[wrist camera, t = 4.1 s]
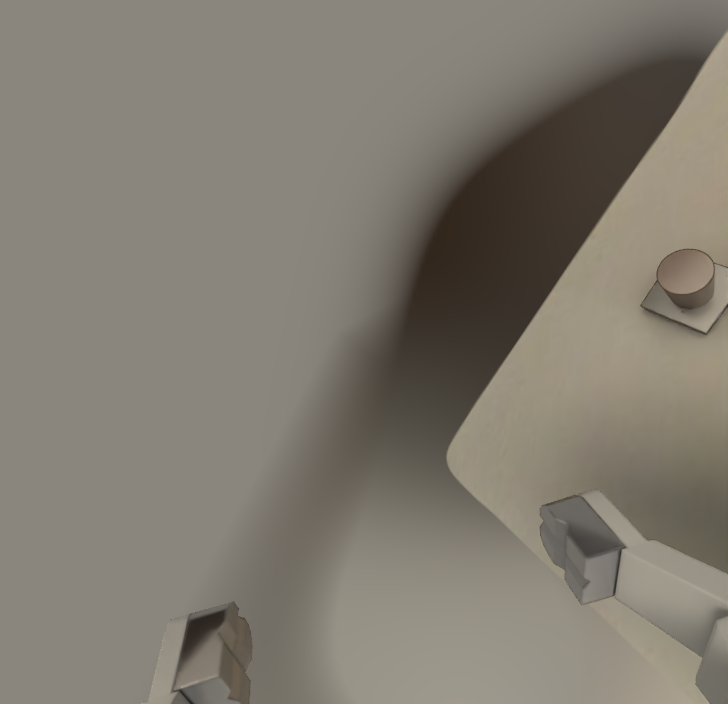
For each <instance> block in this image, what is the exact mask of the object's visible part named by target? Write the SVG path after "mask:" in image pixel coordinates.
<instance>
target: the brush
mask: <svg viewBox="0 0 728 704" xmlns="http://www.w3.org/2000/svg"><path fill="white" fill-rule="evenodd" d="M640 306H641V307H642V308H644V309H646V310H648V311H650V312H653V313H655V314H658V315H660V316H662V317H665V318H667V319H670V320H672V321H674V322H677V323H679V324H682V325H684V326H686V327H689V328H691V329H693V330H696V331H698V332H701V333H703V334H705V335H707V334H708V333H709V331H710V330H711V329H712V327H713V326H714V324H715V323H716V322H717V320H718V319H719V318H720V316H721V315H722V314H723V312H724V311H725V310H726V308H727V307H728V267H725V266H722V265H719V264H716V263H713V260H712V259H711V258H710V257H709V256H708V255H707V254H706V253H704V252H702V251H700V250H696V249H683V250H679V251H676V252H673V253H671V254H670V255H668V256H667V257H666V258H664V259H663V261H662V262H661V263H660V265H659V267H658V269H657V281H656V283H655V284H654V286H653V287H652V289H651V290H650V292H649V293H648V295H647V296H646V298H645V299H644V301H643V302H642V304H641V305H640Z"/></svg>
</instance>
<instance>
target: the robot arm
mask: <svg viewBox="0 0 728 704" xmlns="http://www.w3.org/2000/svg"><path fill="white" fill-rule="evenodd" d="M540 516H541V518H542V519H543V520H544V522H543V523H542V524H541V526H540V536H541V539H542V542H543V545H544V547H545V549H546V551H547V553H548V555H549V557H550V558H551V560H552V561H553V563H554V564H556V565H557V566H559V567H561V568H563V569H564V570H565V581H566V583H567V584H568V586H569V587H570V589H571V590H572V592H573V593H574V595H575V596H576V598H577V599H578V601H579V602H580V604H581V605H585V604H588V603H592V602H595V601H598V600H602V599H605V598H609V597H612V596H615V598H616V599H617V600H618V601H620V602H621V603H623V604H624V605H626V606H627V607H629V608H630V609H632V610H633V611H635V612H636V613H638V614H639V615H641V616H642V617H644V618H645V619H646V620H648V621H649V622H651V623H652V624H654V625H655V626H657V627H658V628H660V629H661V630H663V631H664V632H666V633H667V634H669V635H670V636H671V637H673V638H674V639H676V640H677V641H679V642H680V643H682V644H683V645H685V646H686V647H688V648H689V649H691V650H692V651H694V652H695V653H696V654H698V655H699V656H701V657H702V661H701V664H700V667H699V669H698V672H697V675H696V683H695V684H696V686H697V687H698V688H699V689H700V691H701V692H702V693H703V695H704V696H705V697H706V699H707V700H708V701H709V703H710V704H728V573H725V572H723V571H721V570H719V569H717V568H715V567H712V566H710V565H708V564H706V563H704V562H702V561H699V560H697V559H695V558H693V557H691V556H689V555H686V554H684V553H682V552H680V551H678V550H676V549H673V548H671V547H669V546H667V545H665V544H663V543H660V542H658V541H656V540H654V539H653V540H649V541H648V540H647V539H646V538H645V537H644V536H643V535H642V534H641V533H640V532H639V531H638V530H637V529H636V528H635V527H634V526H633V525H632V524H631V523H630V521H629V520H628V519H627V518H626V517H625V516H624V515H623V514H622V513H621V512H620V511H619V510H618V509H617V508H616V507H615V506H614V505H613V503H612V502H611V501H610V500H609V499H608V498H607V497H606V496H605V495H604V494H603V493H602V492H601V491H599V490H597V489H593V490H590V491H587V492H584V493H581V494H578V495H573V496H570V497H567V498H563V499H560V500H557V501H554V502H551V503H548V504H545V505H542V506H541V508H540ZM238 610H239V608H238V607H237V605H236V604H235V602H234V601H233V602H229V603H225V604H222V605H219V606H215V607H212V608H209V609H205V610H202V611H199V612H195V613H191V614H188V615H184V616H181V617H178V618H174V619H171V620H170V622H169V624H168V626H167V627H166V630H165V634H164V638H163V642H162V646H161V650H160V655H159V659H158V663H157V667H156V671H155V675H154V679H153V683H152V687H151V691H150V695H149V699H148V700H147V701H145V702H142V703H141V704H249V698H250V679H249V678H248V676H247V675H246V673H245V671H246V669H247V667H248V665H249V664H250V662H251V660H252V637H251V631H250V628H249V625H248V623H247V621H246V619H245V618H242V617H239V616H238Z"/></svg>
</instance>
